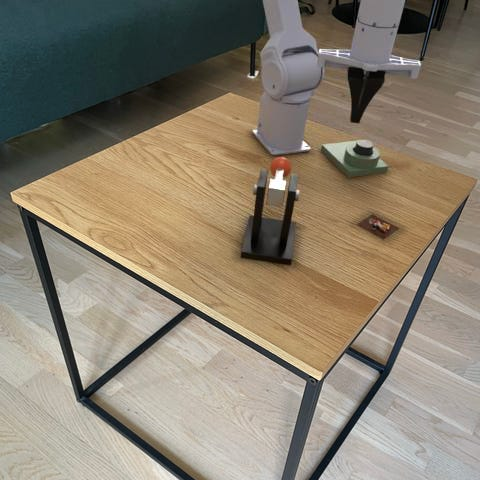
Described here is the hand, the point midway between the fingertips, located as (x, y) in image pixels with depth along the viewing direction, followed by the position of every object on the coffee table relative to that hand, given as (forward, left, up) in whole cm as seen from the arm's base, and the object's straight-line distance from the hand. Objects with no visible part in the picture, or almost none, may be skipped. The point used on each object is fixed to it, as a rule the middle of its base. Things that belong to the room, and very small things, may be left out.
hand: (354, 120), depth 77 cm
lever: (+9, -17, -4) cm, 20 cm away
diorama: (+14, -1, -11) cm, 17 cm away
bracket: (+13, -19, -10) cm, 25 cm away
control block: (-5, +6, -10) cm, 13 cm away
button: (-3, +6, -8) cm, 10 cm away
